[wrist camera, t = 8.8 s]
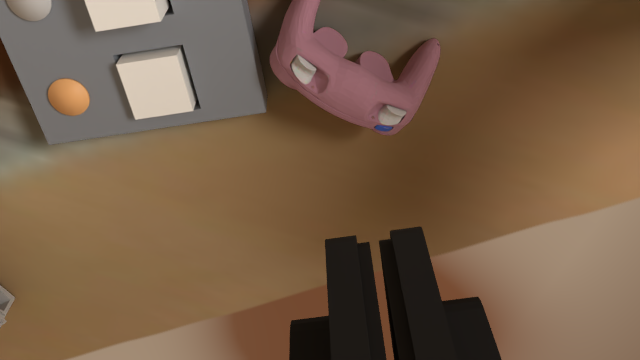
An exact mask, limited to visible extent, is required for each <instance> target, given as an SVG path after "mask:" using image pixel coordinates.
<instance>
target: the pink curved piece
mask: <svg viewBox="0 0 640 360" xmlns="http://www.w3.org/2000/svg"><path fill="white" fill-rule="evenodd" d="M319 3H320V0H292V1H291V4H290V6H289V8H288V10H287V12H286V14H285V17H284V20H283V23H282V26H281V30H280V33H279V36H278V40H277V43H276V45H275V47H274V48H273V50H272V52H271V54H270V66H271V68H272V70H273V72H274V74H275V75H276V76H277V78H278V79H279V80H280V81H281V82H282V83H283V84H285V85H286V86H288V87H290V88H292V89H295V90H298V91H299V92H300V93H301V94H302V95H303V96H305V97H306V98H307V99H309V100H310V101H311V102H313V103H314V104H316V105H317V106H319V107H321V108H322V109H324V110H326V111H327V112H329V113H331V114H333V115H335V116H337V117H339V118H341V119H343V120H346V121H348V122H351V123H353V124H356V125H359V126H362V127H366V128H370V129H372V130H373V131H375V132H376V133H379V134H382V135H394V134H396V133H397V132H399V131H400V130H401V129H402V128H403V127H404V126H406V125H407V124H408V123H409V122H410V121H411V120H412V118H413V116H414V115H415V113H416V111H417V110H418V108H419V106H420V104H421V102H422V100H423V98H424V96H425V94H426V91H427V89H428V87H429V84H430V82H431V80H432V77H433V75H434V72H435V70H436V67H437V64H438V61H439V58H440V50H441V49H440V44H439V42H438V40H437V39H435V38H432V39H429V40H427V41H426V42H425V43H424V44H422V45H421V46H420V47H419V48H418V49H417V51H416V52H415V53H414V54H413V55H412V57H411V58H410V60H409V61H408V63H407V64H406V66H405V67H404V69H403V71H402V72H401V74H400V76H399V78H398V79H397V80H394V79H393V76H392V74H391V70H390V67H389V64H388V62H387V61H386V59H385V58H384V57H382V56H381V55H380V54H378V53H376V52H372V51H366V52H364V53H363V54H362V55H361V56H360V57H359V58H358V59H357V60H356V61H355V62H352V61H349V60H347V59H345V58H343V57H344V56H345V55H346V53H347V50H348V46H347V42H346V40H345V39H344V38H343V36H342V35H341V34H340V33H338V32H337V31H336V30H334V29H332V28H329V27H323V28H321V29H319V30H317V31H316V32H315V33H313V27H314V22H315V16H316V13H317V10H318V7H319Z"/></svg>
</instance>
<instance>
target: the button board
mask: <svg viewBox="0 0 640 360" xmlns="http://www.w3.org/2000/svg"><path fill="white" fill-rule="evenodd" d="M170 1H171V3H169V8H168V10H167V12H166V13H165V15H164V17H163V19H162V20H161V22H155V23H148V24H142V25H136V26H130V27H123V28H117V29H111V30H104V31H98V32H96V31H95V29H94V26H93V23H92V20H91V17H90V15H89V12H88V9H87V6H86V4H85V1H84V0H0V38H1V40H2V42H3V44H4V46H5V49H6V51H7V53H8V55H9V57H10V60H11V62H12V64H13V66H14V69H15V71H16V73H17V75H18V77H19V80H20V82H21V84H22V86H23V89H24V91H25V93H26V95H27V97H28V100H29V102H30V104H31V106H32V108H33V111H34V113H35V115H36V117H37V120H38V122H39V124H40V126H41V128H42V131H43V133H44V135H45V137H46V140H47V142H48V144H49V145H52V144H59V143H65V142H72V141H79V140H85V139H92V138H99V137H105V136H112V135H119V134H125V133H132V132H139V131H146V130H152V129H159V128H166V127H172V126H179V125H186V124H192V123H199V122H206V121H212V120H219V119H226V118H232V117H239V116H246V115H253V114H259V113H266V106H267V91H266V86H265V82H264V77H263V72H262V68H261V63H260V58H259V54H258V49H257V44H256V40H255V35H254V30H253V26H252V21H251V16H250V12H249V7H248V2H247V0H170ZM176 45H183V47H184V51H185V54H186V58H187V61H188V65H189V68H190V72H191V75H192V79H193V82H194V86H195V90H196V93H197V100H196V104H195V107H194V110H193V111H190V112H184V113H177V114H170V115H164V116H157V117H150V118H144V119H137V120H135V118H134V115H133V112H132V109H131V106H130V103H129V101H128V98H127V95H126V92H125V89H124V86H123V84H122V81H121V78H120V75H119V72H118V69H117V67H116V64H117V62H118V61H119V59H120V57H121V56H122V54H125V53H132V52H138V51H144V50H151V49H157V48H164V47H170V46H176Z"/></svg>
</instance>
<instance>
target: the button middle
mask: <svg viewBox="0 0 640 360" xmlns="http://www.w3.org/2000/svg"><path fill="white" fill-rule="evenodd" d="M84 1H85V4H86V6H87V9H88V12H89V15H90V17H91V20H92V23H93V26H94V29H95V31H96V32H98V31H104V30H111V29H117V28H123V27H130V26H136V25H142V24H148V23H155V22H161V20H162V19H163V17H164V15H165V13H166V12H167V10H168V8H169V2H168V0H84Z"/></svg>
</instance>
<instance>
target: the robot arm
mask: <svg viewBox="0 0 640 360" xmlns="http://www.w3.org/2000/svg"><path fill="white" fill-rule="evenodd" d="M390 238H391V239H388V240H380V241H379V245H380V253H381V261H382V269H383V276H384V283H385V291H386V299H387V307H388V315H389V323H390V331H391V338H392V347H393V353H394V360H501V357H500V354H499V351H498V348H497V345H496V343H495V340H494V337H493V334H492V331H491V328H490V325H489V322H488V320H487V316H486V314H485V311H484V308H483V305H482V303H481V300H480V299H479V298H478V297H472V298H464V299H456V300H448V301H442V300H441V297H440V293H439V289H438V286H437V282H436V278H435V274H434V271H433V267H432V263H431V260H430V256H429V252H428V248H427V245H426V241H425V237H424V234H423V230H422V228H421V227H414V228H407V229H399V230H392V231H390ZM325 249H326V269H327V289H328V308H329V316H324V317H316V318H309V319H300V320H292V321H291V325H290V326H291V327H290V357H289V360H386V354H385V346H384V340H383V333H382V326H381V320H380V312H379V306H378V299H377V292H376V286H375V279H374V272H373V265H372V258H371V251H370V244H369V242H366V243H358V244H357V239H356V235H355V236H348V237H341V238H333V239H326V240H325Z"/></svg>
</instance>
